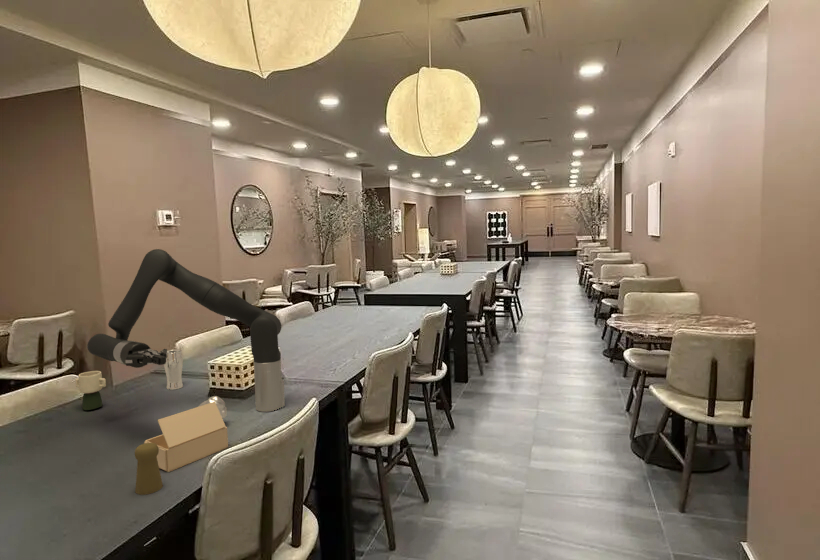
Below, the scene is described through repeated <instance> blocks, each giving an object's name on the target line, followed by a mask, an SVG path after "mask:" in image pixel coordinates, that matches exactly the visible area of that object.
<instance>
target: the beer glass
mask: <svg viewBox="0 0 820 560" xmlns="http://www.w3.org/2000/svg"><path fill="white" fill-rule="evenodd" d="M182 351H183V350H181V349H167V358H166V364H163V367H164V371H165V375H166V381H167V382H166V390H169V389H170V391H171V390H173V391H174V390H178V389H182V388H184V384H183V380H182V375H183V374H182V373H183V365H184V364H183V363H184V359H183V352H182Z"/></svg>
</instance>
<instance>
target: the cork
mask: <svg viewBox="0 0 820 560" xmlns="http://www.w3.org/2000/svg"><path fill="white" fill-rule="evenodd" d="M158 453H159V448H158V446H157V444H155V443H145V444H144V443H142V444H139V445H138V446H137V447H136V448H135V449H134V457H135V458H134V459H135V460H137V465H136V477H135V488H134V491H135V492H134V493H135V494H136V495H141V496H143V495H150V494H154V493H156V492H159V491H160V490H161V489H162V488H163V487H164V484H163V480H162V479H163V478H162V475H161V471H160V470H161V469H160V468H159V465H158V461H157V455H158Z"/></svg>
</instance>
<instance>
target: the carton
mask: <svg viewBox="0 0 820 560" xmlns="http://www.w3.org/2000/svg"><path fill="white" fill-rule="evenodd" d="M228 437H229V436H228V427H227V426H226V427H224V428H221V429H218V430H216V431H213V432H210V433H208V434H205V435H202V436H200V437H197V438H194V439H192V440H189V441H186V442H184V443H181V444H178V445H176V446H173V447H170V448H168V445H167V443H166V440H165V438H164V435H163V433H162V434H160V435H157V436H154V437H150V438H148V439H146V440H144V442H143V444H145V443H155V444H157V446H158V448H159V453H158V455H157V461H158V465H159V470H163V471H165V472H167V473H170V472H173V471H176V470H177V469H180V468H182V467H185V466H187V465H190V464H191V463H195V462H196V461H199V460H202V459H204V458H206V457H209V456H211V455H213V454H215V453H219V452H220V451H224V450H226V449H228V448H229V439H228Z"/></svg>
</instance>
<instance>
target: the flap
mask: <svg viewBox="0 0 820 560" xmlns="http://www.w3.org/2000/svg"><path fill="white" fill-rule="evenodd" d="M157 423H158V425H159V428H160V430H161V433H162V434H163V435H164V438H165V440H166V443H167V445H168V448H170V447H173V446H176V445H178V444H181V443H184V442H186V441H189V440H192V439H194V438H197V437H200V436H202V435H205V434H208V433H210V432H213V431H216V430H218V429H221V428H224V427H227V426H226V423H225V422H224V419H222V417H221V415H220V412H219V410H218V408H217V405H216V403H215V402H212V403H209V404H205V405H202V406H199V405H198V406H196V407H192V408H190V409H187V410H184V411H181V412H178V413H175V414H172V415H168V416H166V417H162V418H159V419H157Z"/></svg>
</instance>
